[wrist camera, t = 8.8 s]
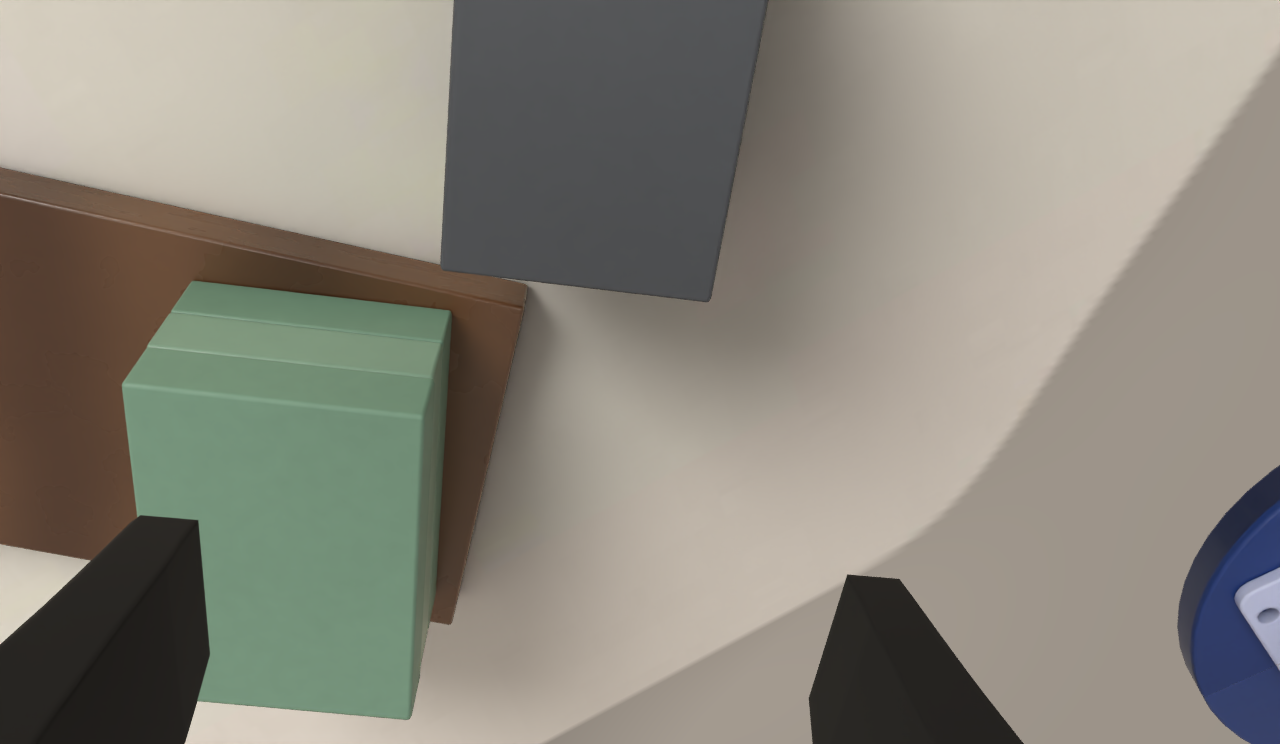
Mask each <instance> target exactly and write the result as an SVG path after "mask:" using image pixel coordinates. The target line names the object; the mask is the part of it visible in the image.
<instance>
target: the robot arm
mask: <svg viewBox="0 0 1280 744" xmlns="http://www.w3.org/2000/svg"><path fill="white" fill-rule="evenodd" d="M1234 599H1235V603H1236V605H1237V606H1238V608H1239V609H1240V611H1241V613H1242V614H1243V616H1244V617H1245V619H1246V620H1247V622H1248V623H1249V625H1250V626H1251V628H1252V629H1253V631H1254V632H1255V634H1256V636H1257V637H1258V639H1259V640H1260V642H1261V643H1262V645H1263V646H1264V648H1265V649H1266V651H1267V652H1268V654H1269V655H1270V657H1271V658H1272V660H1273V661H1274V663H1275V664H1276V666H1277V668H1278V669H1279V671H1280V567H1279V568H1277V569H1275V570H1273V571H1270V572H1268V573H1266V574H1264V575H1262V576H1260V577H1258V578H1256V579H1254V580H1251V581H1249V582H1247V583H1246V584H1244V585H1243V586H1241V587H1240V588H1239V589H1238V591H1237V592H1236V594H1235V598H1234ZM1265 609H1267V610H1266V611H1263V610H1265ZM1262 611H1263V612H1262ZM209 657H210V647H209V636H208V624H207V613H206V601H205V590H204V579H203V567H202V556H201V544H200V533H199V522H198V520H193V519H181V518H169V517H157V516H145V515H140V516H139V517H137V518H136V519H134V520H133V521H132V522H130V523H129V524H128V525H127V526H126V527H125V528H124V529H123V530H122V531H121V532H120V533H119V534H118V535H117V536H116V537H115V538H114V539H113V540H112V541H111V542H110V543H109V544H108V545H107V546H106V547H105V548H104V549H103V550H102V551H101V552H99V553H98V554H97V555H96V556H95V557H94V558H93V559H92V560H91V561H90V562H89V563H88V564H87V565H86V566H85V567H84V568H83V569H82V570H81V571H80V572H79V573H78V574H77V575H76V576H75V577H74V578H72V579H71V580H70V581H69V582H68V583H67V584H66V585H65V586H64V587H63V588H62V589H61V590H60V591H59V592H58V593H57V594H56V595H54V596H53V597H52V598H51V599H50V600H49V601H48V602H47V603H46V604H45V605H44V606H43V607H42V608H40V609H39V610H38V611H37V612H36V613H35V614H34V615H33V616H31V617H30V618H29V619H28V620H27V621H26V622H25V623H24V624H23V625H21V626H20V627H19V628H18V629H17V630H16V631H15V632H14V633H13V634H11V635H10V636H9V637H8V638H7V639H6V640H5V641H4V642H3V643H1V644H0V744H185V741H186V738H187V734H188V731H189V728H190V724H191V721H192V717H193V714H194V711H195V707H196V704H197V700H198V697H199V693H200V689H201V686H202V682H203V679H204V675H205V671H206V668H207V664H208V660H209ZM809 706H810V716H811V729H812V740H813V744H1024V743H1023V742H1022V741H1021V740H1020V739H1019V737H1018V736H1017V735H1016V734H1015V733H1014V731H1013V730H1012V728H1011V727H1010V726H1009V725H1008V724H1007V722H1006V721H1005V720H1004V718H1003V717H1002V716H1001V715H1000V713H999V712H998V711H997V710H996V708H995V707H994V706H993V704H992V703H991V702H990V701H989V699H988V698H987V697H986V696H985V694H984V693H983V692H982V690H981V689H980V688H979V686H978V685H977V684H976V682H975V681H974V680H973V679H972V677H971V676H970V675H969V673H968V672H967V671H966V669H965V668H964V667H963V665H962V664H961V662H960V661H959V660H958V658H957V657H956V656H955V654H954V653H953V652H952V650H951V649H950V647H949V646H948V645H947V643H946V642H945V641H944V639H943V638H942V637H941V636H940V634H939V633H938V631H937V630H936V628H935V627H934V626H933V624H932V623H931V621H930V620H929V619H928V617H927V616H926V614H925V613H924V612H923V611H922V609H921V608H920V606H919V605H918V604H917V602H916V601H915V599H914V598H913V597H912V595H911V594H910V593H909V591H908V590H907V589H906V587H905V586H904V585H903V584H902V582H901V581H900V579H892V578H881V577H868V576H857V575H847V578H846V581H845V584H844V587H843V591H842V594H841V597H840V600H839V603H838V606H837V610H836V613H835V616H834V620H833V623H832V626H831V629H830V632H829V636H828V639H827V642H826V645H825V648H824V651H823V655H822V658H821V661H820V664H819V667H818V671H817V674H816V677H815V680H814V684H813V687H812V690H811V693H810V697H809Z"/></svg>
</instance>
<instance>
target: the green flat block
mask: <svg viewBox="0 0 1280 744" xmlns="http://www.w3.org/2000/svg"><path fill="white" fill-rule="evenodd" d="M451 324H452V313H451V311H449V310H442V309H434V308H425V307H417V306H408V305H399V304H391V303H382V302H374V301H365V300H357V299H348V298H339V297H331V296H322V295H314V294H305V293H296V292H288V291H279V290H271V289H262V288H253V287H245V286H236V285H228V284H219V283H211V282H202V281H192V282H191V283H190V284H189V286H188V287H187V288H186V290H185V291H184V293H183V294H182V296H181V297H180V298H179V300H178V301H177V303H176V304H175V306H174V307H173V309H172V310H171V313H170V314H169V315H168V316H167V318H166V319H165V320H164V322H163V323H162V325H161V326H160V328H159V329H158V331H157V332H156V333H155V335H154V336H153V338H152V339H151V341H150V342H149V343H148V345H147V348H150V347H153V348H162V349H171V350H180V351H189V352H198V353H207V354H216V355H225V356H234V357H243V358H252V359H261V360H270V361H278V362H287V363H296V364H305V365H314V366H323V367H332V368H341V369H350V370H359V371H368V372H377V373H386V374H395V375H404V376H413V377H421V378H430V379H433V380H434V383H435V393H434V413H433V432H432V452H431V471H430V490H429V510H428V529H427V549H426V568H425V587H424V607H423V626H422V645H421V661H422V656H423V652H424V647H425V642H426V637H427V631H428V628H429V623H430V618H431V614H432V609H433V604H434V599H435V594H436V580H437V563H438V546H439V529H440V512H441V495H442V478H443V461H444V444H445V426H446V409H447V392H448V375H449V358H450V341H451ZM420 666H421V665H420Z"/></svg>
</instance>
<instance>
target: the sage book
mask: <svg viewBox="0 0 1280 744" xmlns="http://www.w3.org/2000/svg"><path fill="white" fill-rule="evenodd" d="M122 392H123V400H124V409H125V417H126V426H127V434H128V443H129V451H130V459H131V468H132V476H133V485H134V493H135V502H136V510H137V517H139V516H140V515H145V516H157V517H169V518H181V519H193V520H198V522H199V533H200V544H201V556H202V567H203V579H204V590H205V601H206V613H207V624H208V636H209V647H210V657H209V660H208V664H207V668H206V671H205V675H204V679H203V682H202V686H201V689H200V693H199V697H198V700H197V701H202V702H213V703H224V704H235V705H247V706H258V707H269V708H280V709H291V710H302V711H314V712H325V713H336V714H347V715H358V716H369V717H381V718H392V719H403V720H408V719H410V717H411V716H412V711H413V707H414V702H415V697H416V692H417V687H418V683H419V678H420V665H421V645H422V626H423V607H424V587H425V568H426V549H427V529H428V510H429V490H430V471H431V452H432V432H433V413H434V393H435V383H434V380H433V379H430V378H421V377H413V376H404V375H395V374H386V373H377V372H368V371H359V370H350V369H341V368H332V367H323V366H314V365H305V364H296V363H287V362H278V361H270V360H261V359H252V358H243V357H234V356H225V355H216V354H207V353H198V352H189V351H180V350H171V349H162V348H153V347H150V348H147V349H146V350H145V351H144V353H143V354H142V355H141V357H140V358H139V360H138V361H137V363H136V364H135V366H134V367H133V368H132V370H131V371H130V373H129V374H128V376H127V377H126V379H125V380H124V381H123V383H122Z"/></svg>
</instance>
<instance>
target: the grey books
mask: <svg viewBox="0 0 1280 744" xmlns="http://www.w3.org/2000/svg"><path fill="white" fill-rule="evenodd" d="M767 4H768V0H454V7H453V27H452V47H451V66H450V86H449V105H448V125H447V144H446V164H445V183H444V203H443V223H442V242H441V262H440V266H441V269H442V270H444V271H450V272H458V273H466V274H475V275H483V276H492V277H500V278H508V279H517V280H525V281H533V282H542V283H550V284H558V285H567V286H575V287H584V288H592V289H600V290H609V291H617V292H625V293H634V294H642V295H651V296H659V297H667V298H676V299H684V300H692V301H701V302H709V300H710V299H711V296H712V290H713V285H714V280H715V275H716V270H717V264H718V259H719V254H720V249H721V244H722V238H723V233H724V228H725V223H726V218H727V212H728V207H729V202H730V197H731V192H732V186H733V181H734V176H735V171H736V166H737V160H738V155H739V150H740V145H741V140H742V134H743V129H744V124H745V119H746V114H747V108H748V103H749V98H750V93H751V88H752V82H753V77H754V72H755V67H756V62H757V56H758V51H759V46H760V41H761V36H762V30H763V25H764V20H765V15H766V10H767Z"/></svg>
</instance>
